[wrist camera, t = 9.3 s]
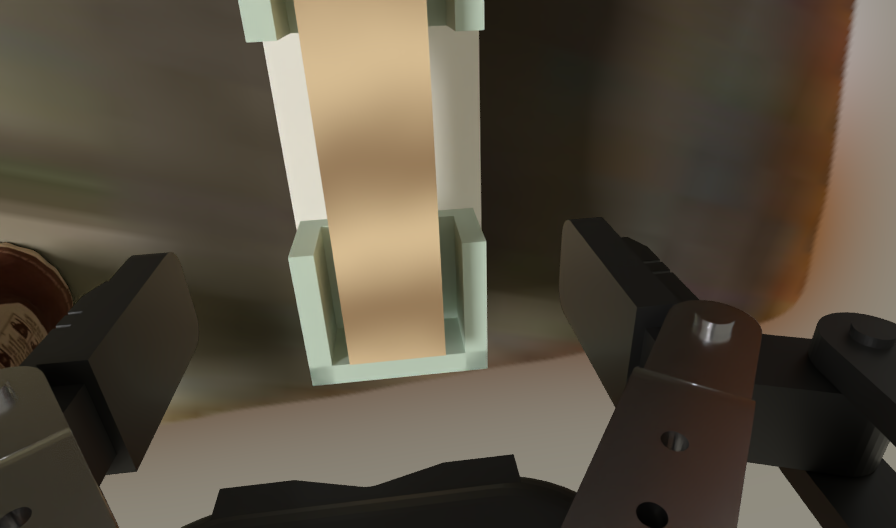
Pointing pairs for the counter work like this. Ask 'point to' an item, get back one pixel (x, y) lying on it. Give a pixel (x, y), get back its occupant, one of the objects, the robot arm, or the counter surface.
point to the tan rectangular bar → (377, 170)
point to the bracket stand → (457, 178)
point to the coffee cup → (28, 302)
